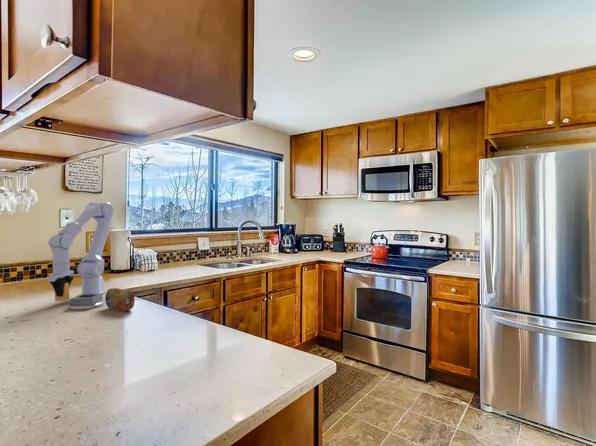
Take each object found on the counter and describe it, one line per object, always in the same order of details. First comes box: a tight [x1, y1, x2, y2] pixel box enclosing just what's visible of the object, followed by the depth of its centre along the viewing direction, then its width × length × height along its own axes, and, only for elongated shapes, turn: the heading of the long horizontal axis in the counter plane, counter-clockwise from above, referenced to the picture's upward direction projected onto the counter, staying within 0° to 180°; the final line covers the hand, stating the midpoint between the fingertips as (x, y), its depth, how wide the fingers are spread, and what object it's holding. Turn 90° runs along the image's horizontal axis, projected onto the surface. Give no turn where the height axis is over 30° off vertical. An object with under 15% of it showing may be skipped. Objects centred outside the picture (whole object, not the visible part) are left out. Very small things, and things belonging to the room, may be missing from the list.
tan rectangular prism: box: [54, 283, 70, 302], centre depth 141 cm, size 3×4×7 cm
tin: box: [104, 287, 135, 313], centre depth 132 cm, size 15×3×8 cm, turn 62°
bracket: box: [68, 293, 105, 311], centre depth 138 cm, size 12×12×4 cm
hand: (62, 295), depth 141 cm, fingers closed on tan rectangular prism, 3 cm apart
